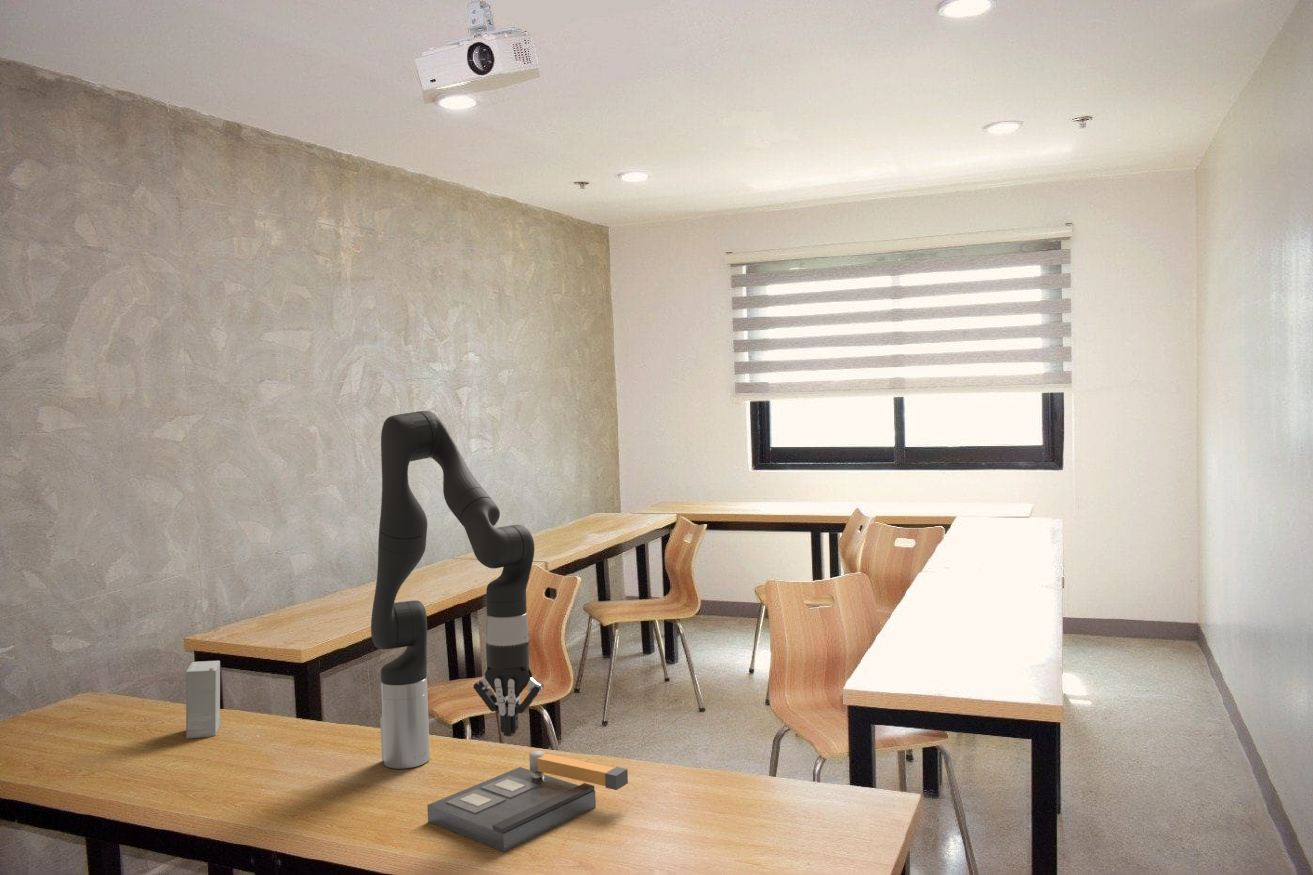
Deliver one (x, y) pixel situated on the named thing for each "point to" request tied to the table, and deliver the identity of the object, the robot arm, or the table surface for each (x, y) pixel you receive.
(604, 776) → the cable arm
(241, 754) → the table surface
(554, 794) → the plate
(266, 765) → the table surface
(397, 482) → the robot arm
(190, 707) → the skincare box
